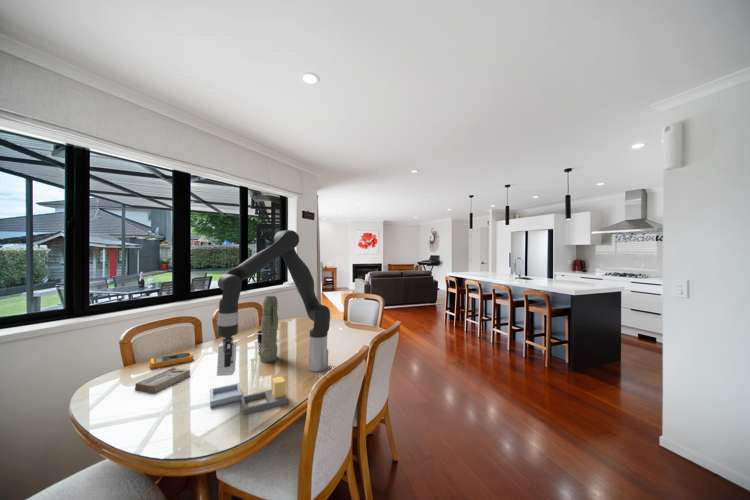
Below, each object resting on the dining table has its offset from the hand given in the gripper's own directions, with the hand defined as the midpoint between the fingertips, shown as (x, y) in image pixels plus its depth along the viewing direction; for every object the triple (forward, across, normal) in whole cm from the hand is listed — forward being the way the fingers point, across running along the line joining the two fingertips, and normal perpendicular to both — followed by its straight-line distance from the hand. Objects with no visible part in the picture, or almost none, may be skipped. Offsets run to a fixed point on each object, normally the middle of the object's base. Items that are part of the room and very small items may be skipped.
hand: (226, 363), depth 114 cm
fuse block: (+14, -11, -12) cm, 21 cm away
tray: (+14, 0, 0) cm, 14 cm away
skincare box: (+4, 0, 0) cm, 4 cm away
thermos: (+14, +33, -23) cm, 43 cm away
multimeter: (+15, +51, +22) cm, 58 cm away
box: (+15, +27, +23) cm, 38 cm away
